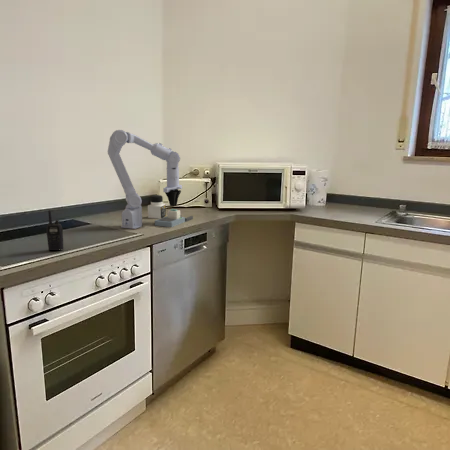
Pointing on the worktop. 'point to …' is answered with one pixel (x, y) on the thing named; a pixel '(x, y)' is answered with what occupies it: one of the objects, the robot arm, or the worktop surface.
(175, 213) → the plug
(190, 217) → the bracket
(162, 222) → the port panel
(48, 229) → the two-way radio
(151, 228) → the worktop surface
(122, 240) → the worktop surface
